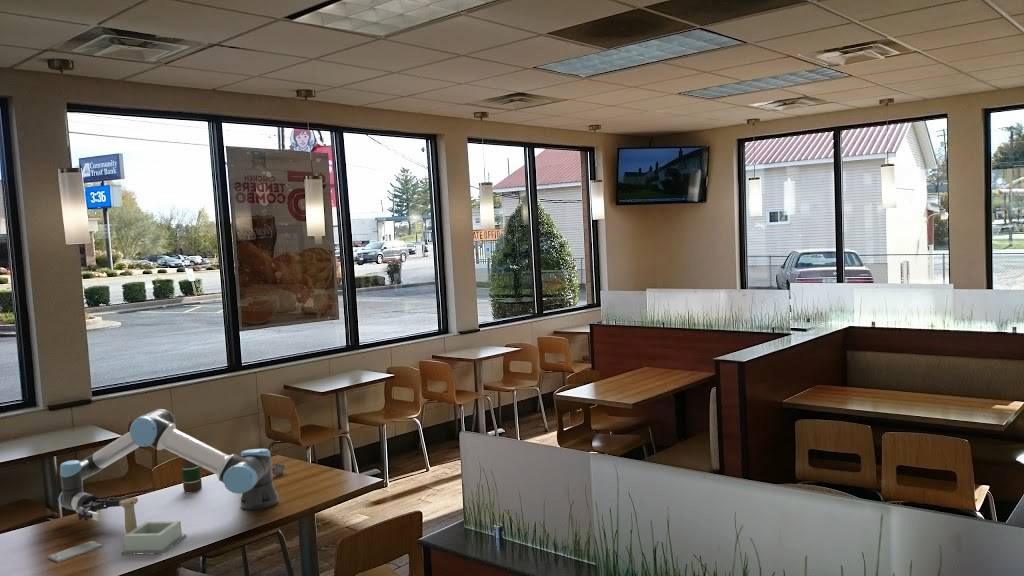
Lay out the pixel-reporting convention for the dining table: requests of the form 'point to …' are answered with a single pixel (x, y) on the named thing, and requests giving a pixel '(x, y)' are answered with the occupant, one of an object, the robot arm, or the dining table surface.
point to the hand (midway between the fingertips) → (115, 511)
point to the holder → (153, 537)
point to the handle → (129, 513)
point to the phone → (75, 551)
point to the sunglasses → (278, 469)
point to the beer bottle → (191, 476)
